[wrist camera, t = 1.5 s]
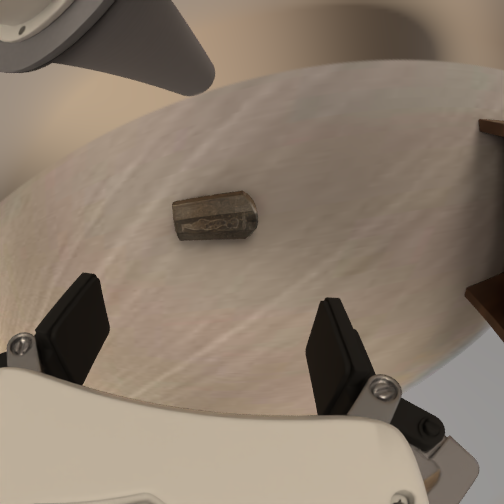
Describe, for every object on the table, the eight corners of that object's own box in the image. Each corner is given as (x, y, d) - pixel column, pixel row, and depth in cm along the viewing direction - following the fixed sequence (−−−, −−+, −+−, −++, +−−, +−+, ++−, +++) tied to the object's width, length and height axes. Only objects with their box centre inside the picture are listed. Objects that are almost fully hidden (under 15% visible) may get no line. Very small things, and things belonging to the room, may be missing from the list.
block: (174, 197, 20) (168, 204, 19) (255, 187, 20) (255, 194, 18) (182, 240, 22) (177, 251, 20) (258, 233, 22) (260, 243, 20)
